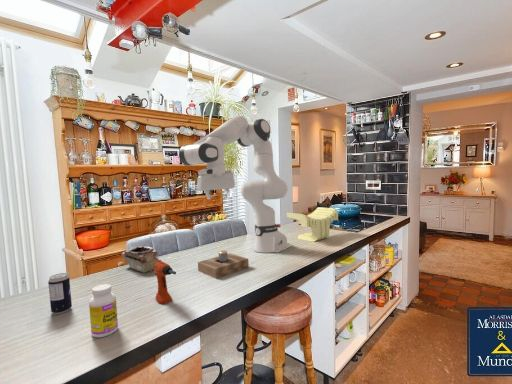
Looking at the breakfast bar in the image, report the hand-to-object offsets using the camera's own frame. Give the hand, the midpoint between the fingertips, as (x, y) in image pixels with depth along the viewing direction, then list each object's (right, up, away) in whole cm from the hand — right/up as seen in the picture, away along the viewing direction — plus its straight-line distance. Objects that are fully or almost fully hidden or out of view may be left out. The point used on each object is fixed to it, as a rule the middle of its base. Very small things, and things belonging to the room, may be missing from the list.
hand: (217, 198), depth 138 cm
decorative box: (-37, -34, -6) cm, 51 cm away
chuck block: (+4, -32, -12) cm, 34 cm away
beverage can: (-46, -36, -46) cm, 74 cm away
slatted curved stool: (+56, -26, +39) cm, 73 cm away
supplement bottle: (-24, -36, -60) cm, 74 cm away
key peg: (+4, -32, -12) cm, 34 cm away
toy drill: (-11, -35, -44) cm, 57 cm away
